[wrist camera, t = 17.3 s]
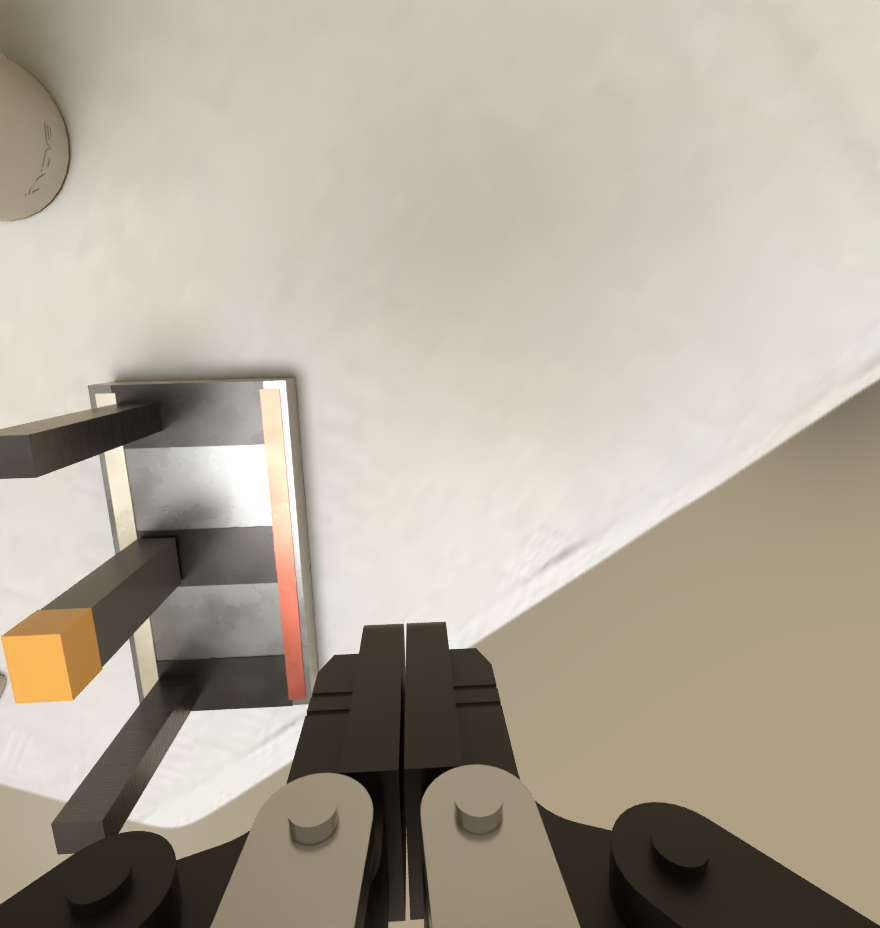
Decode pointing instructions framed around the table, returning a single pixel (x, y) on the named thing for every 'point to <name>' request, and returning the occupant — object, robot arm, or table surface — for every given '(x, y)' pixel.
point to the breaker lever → (89, 622)
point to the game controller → (2, 683)
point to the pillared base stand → (191, 559)
